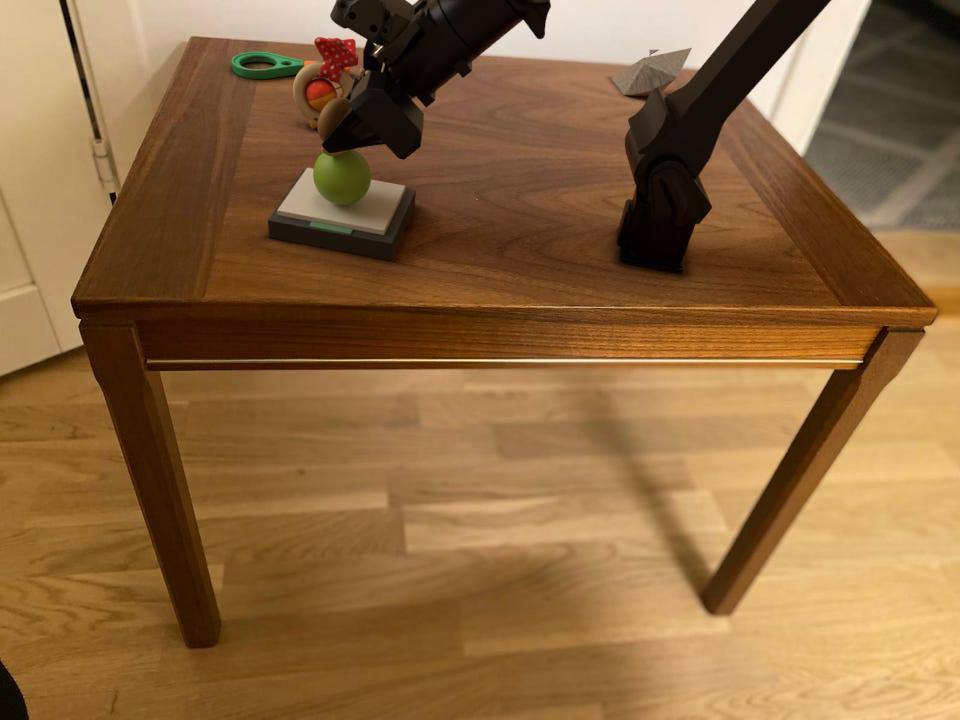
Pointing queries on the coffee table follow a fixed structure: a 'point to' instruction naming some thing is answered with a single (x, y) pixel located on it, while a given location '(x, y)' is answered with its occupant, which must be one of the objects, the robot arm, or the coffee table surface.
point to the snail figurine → (340, 161)
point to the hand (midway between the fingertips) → (329, 135)
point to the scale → (344, 218)
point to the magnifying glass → (281, 68)
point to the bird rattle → (321, 90)
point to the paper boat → (651, 73)
